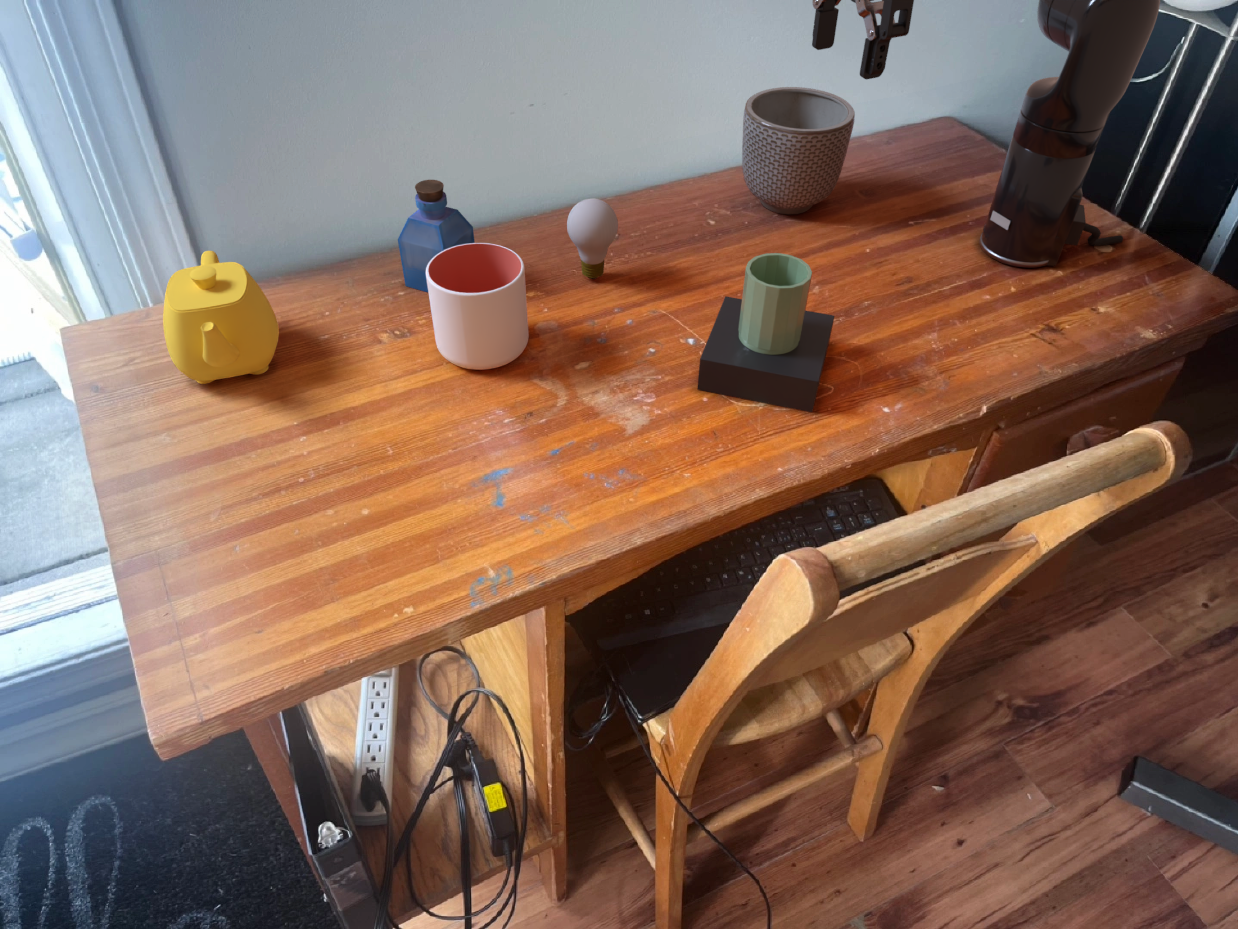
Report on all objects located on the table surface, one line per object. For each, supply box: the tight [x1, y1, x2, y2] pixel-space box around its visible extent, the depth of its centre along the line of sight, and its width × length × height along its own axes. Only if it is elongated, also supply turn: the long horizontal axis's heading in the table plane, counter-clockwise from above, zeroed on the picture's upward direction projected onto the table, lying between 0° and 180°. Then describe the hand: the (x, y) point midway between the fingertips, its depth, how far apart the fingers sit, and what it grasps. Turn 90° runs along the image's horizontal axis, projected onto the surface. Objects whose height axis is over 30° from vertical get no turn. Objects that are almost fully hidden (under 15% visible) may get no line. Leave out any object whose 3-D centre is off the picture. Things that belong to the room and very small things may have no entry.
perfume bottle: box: [397, 179, 476, 293], centre depth 108 cm, size 6×6×12 cm
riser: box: [697, 296, 835, 413], centre depth 100 cm, size 12×12×4 cm
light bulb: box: [566, 198, 619, 280], centre depth 110 cm, size 6×6×10 cm
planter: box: [741, 86, 856, 215], centre depth 123 cm, size 14×14×13 cm
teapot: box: [162, 250, 280, 385], centre depth 97 cm, size 18×11×11 cm, turn 18°
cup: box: [426, 242, 530, 371], centre depth 99 cm, size 10×10×10 cm
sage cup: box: [738, 252, 813, 355], centre depth 95 cm, size 6×6×8 cm
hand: (845, 61), depth 94 cm, fingers open, 8 cm apart
